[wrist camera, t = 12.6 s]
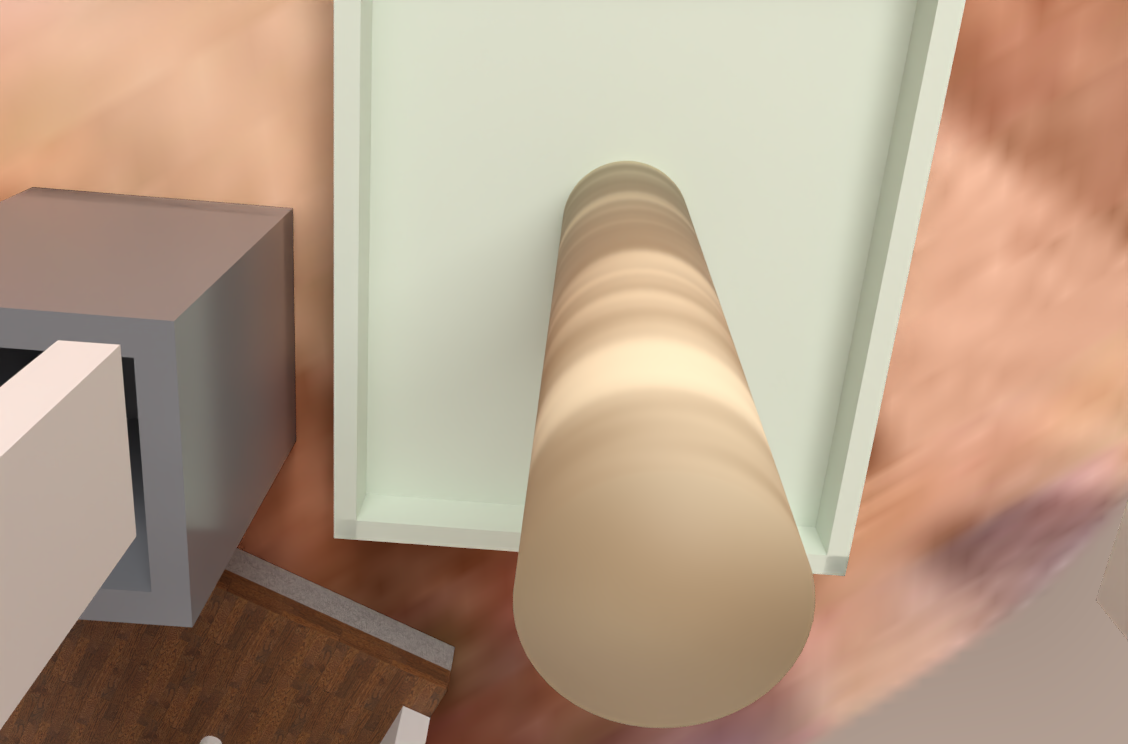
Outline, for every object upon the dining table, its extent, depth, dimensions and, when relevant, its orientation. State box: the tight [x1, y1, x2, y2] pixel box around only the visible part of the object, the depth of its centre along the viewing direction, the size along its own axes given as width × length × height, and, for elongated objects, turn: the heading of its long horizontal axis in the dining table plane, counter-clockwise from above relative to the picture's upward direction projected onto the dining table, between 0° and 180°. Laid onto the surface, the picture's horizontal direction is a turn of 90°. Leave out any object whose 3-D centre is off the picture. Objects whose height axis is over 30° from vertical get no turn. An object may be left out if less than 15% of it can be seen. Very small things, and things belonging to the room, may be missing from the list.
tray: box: [334, 0, 966, 576], centre depth 27 cm, size 18×14×2 cm
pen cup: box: [0, 187, 296, 627], centre depth 25 cm, size 7×7×9 cm
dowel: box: [513, 161, 815, 728], centre depth 19 cm, size 3×3×17 cm
